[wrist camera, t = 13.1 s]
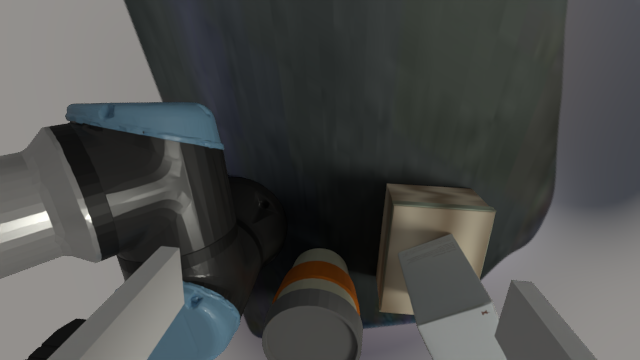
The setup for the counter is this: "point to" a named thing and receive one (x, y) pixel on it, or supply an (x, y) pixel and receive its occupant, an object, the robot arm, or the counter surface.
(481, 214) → the maple box
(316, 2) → the counter surface
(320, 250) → the reusable coffee cup
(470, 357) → the supplement box
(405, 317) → the counter surface
